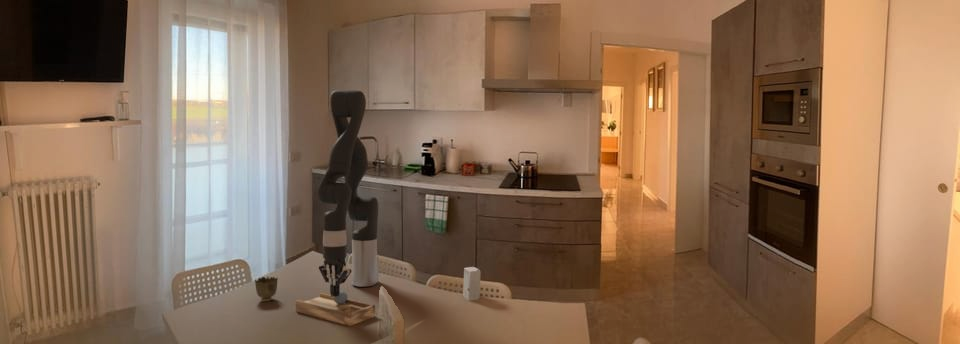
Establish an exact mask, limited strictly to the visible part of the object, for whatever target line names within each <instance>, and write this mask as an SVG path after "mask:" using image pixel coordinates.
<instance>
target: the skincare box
mask: <svg viewBox="0 0 960 344" xmlns="http://www.w3.org/2000/svg"><path fill="white" fill-rule="evenodd" d="M481 273H482V272H481V270H480V269H479V268H477V267H475V266H468V267H464V268H463V287H462V289H463V290H462V295H463V297H464V298H465V299H466V301H469V302H470V301H476V300H477V301H478V300H480V295H481V294H480V292H481V291H480V290H481Z"/></svg>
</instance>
